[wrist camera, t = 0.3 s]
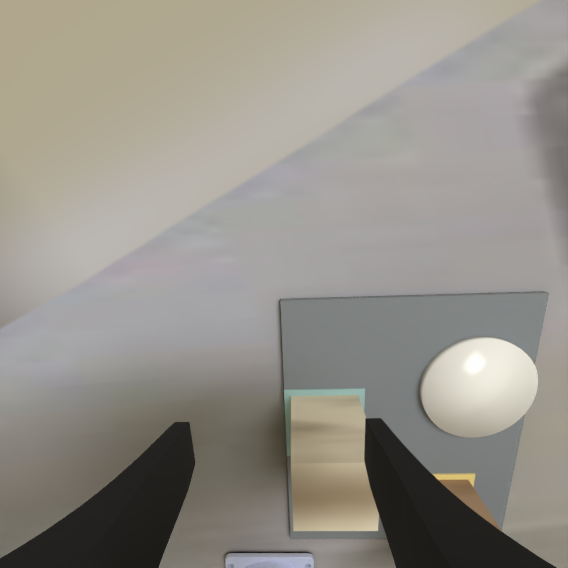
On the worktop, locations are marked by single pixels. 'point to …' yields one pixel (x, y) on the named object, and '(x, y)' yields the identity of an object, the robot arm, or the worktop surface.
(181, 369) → the worktop surface
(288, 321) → the grey board
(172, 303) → the worktop surface
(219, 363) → the worktop surface
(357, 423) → the beech block
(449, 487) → the walnut block
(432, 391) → the white flat disc
